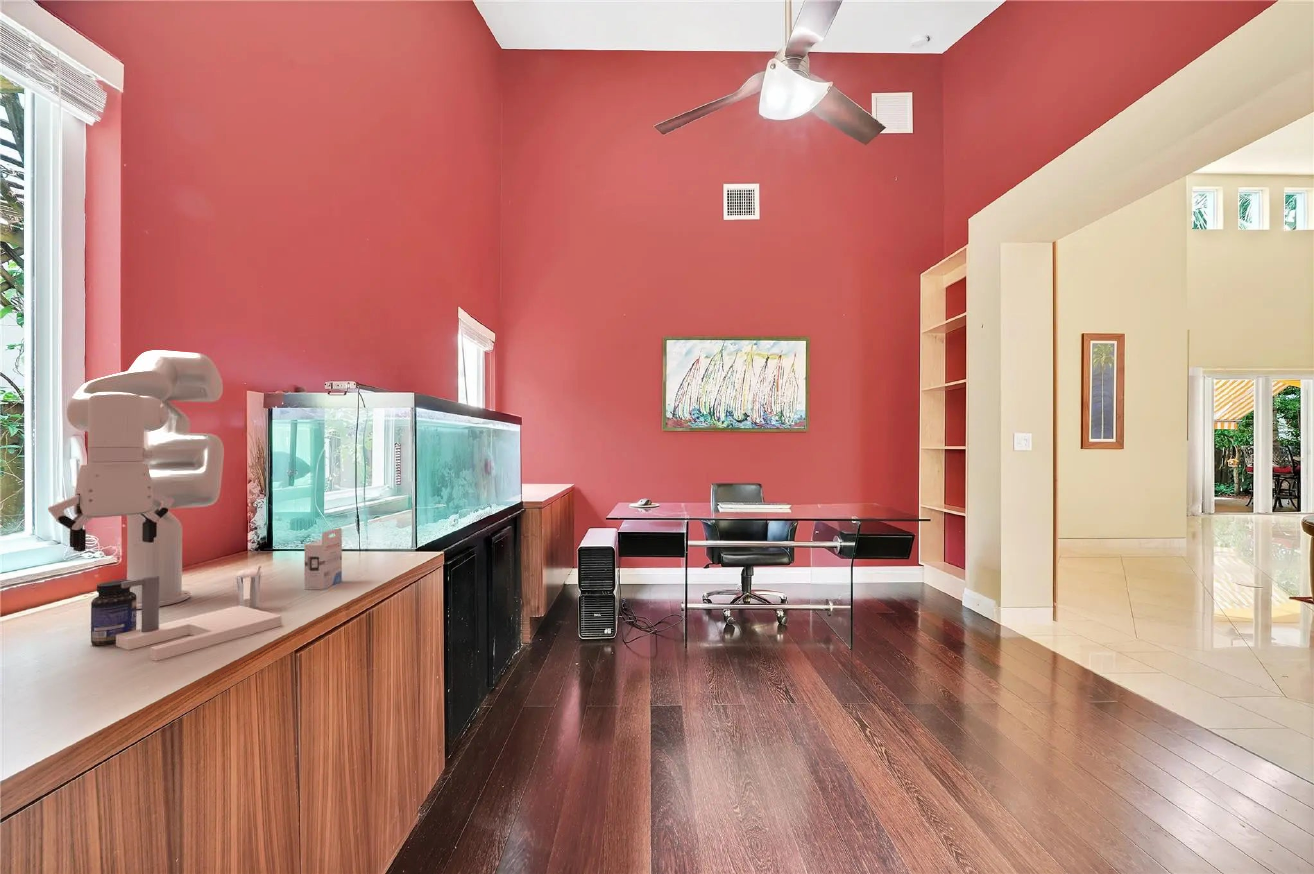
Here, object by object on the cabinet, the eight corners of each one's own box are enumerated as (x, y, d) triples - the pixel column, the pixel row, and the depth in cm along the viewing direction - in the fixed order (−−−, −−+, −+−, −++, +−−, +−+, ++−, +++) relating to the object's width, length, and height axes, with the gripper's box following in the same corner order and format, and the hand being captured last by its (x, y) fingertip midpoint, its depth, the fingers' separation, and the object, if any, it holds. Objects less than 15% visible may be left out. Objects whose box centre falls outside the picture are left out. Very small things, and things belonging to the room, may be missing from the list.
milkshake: (250, 613, 117) (250, 568, 117) (230, 612, 118) (231, 567, 118) (269, 607, 122) (269, 563, 122) (250, 605, 123) (250, 562, 123)
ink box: (324, 581, 145) (325, 527, 145) (342, 581, 145) (342, 527, 145) (303, 589, 136) (303, 532, 136) (322, 590, 136) (322, 532, 136)
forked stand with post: (115, 645, 98) (116, 580, 99) (239, 614, 116) (240, 559, 117) (155, 661, 91) (156, 591, 91) (281, 625, 109) (281, 567, 109)
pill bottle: (141, 638, 102) (141, 581, 102) (96, 648, 97) (97, 588, 97) (130, 632, 105) (130, 577, 106) (85, 642, 100) (86, 584, 100)
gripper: (164, 456, 111) (163, 537, 111) (42, 457, 96) (40, 552, 95) (182, 456, 108) (181, 540, 107) (58, 458, 92) (56, 556, 92)
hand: (115, 546), depth 101 cm, fingers open, 9 cm apart
